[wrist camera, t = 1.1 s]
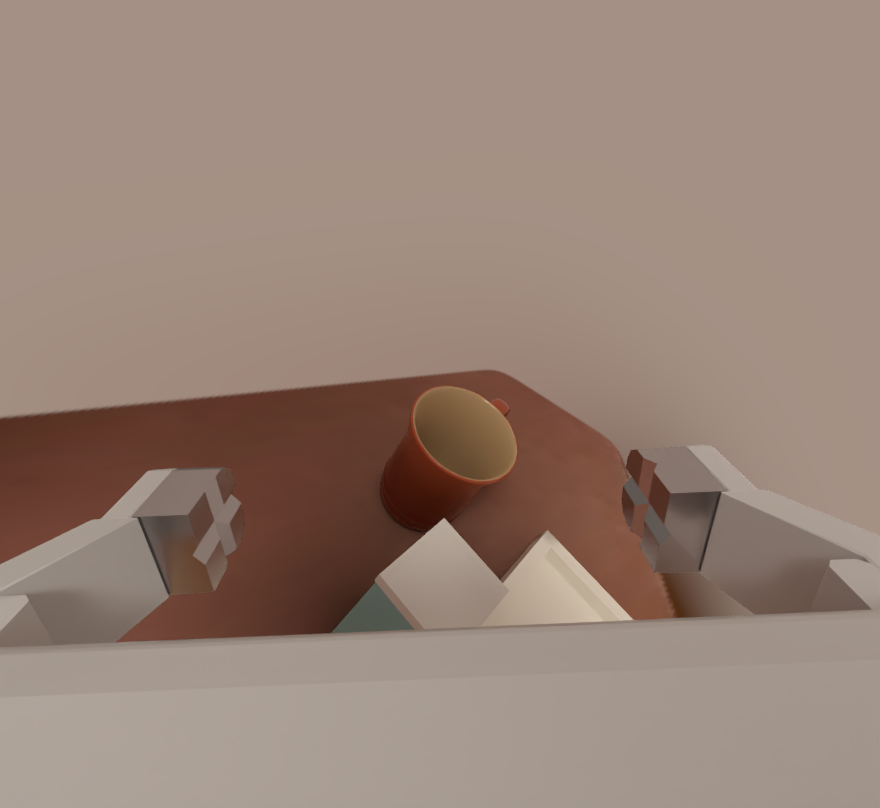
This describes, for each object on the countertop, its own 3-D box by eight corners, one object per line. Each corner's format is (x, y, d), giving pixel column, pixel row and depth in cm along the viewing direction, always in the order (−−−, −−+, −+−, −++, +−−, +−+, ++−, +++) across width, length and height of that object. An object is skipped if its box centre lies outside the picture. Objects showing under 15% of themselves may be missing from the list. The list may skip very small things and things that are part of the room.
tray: (421, 672, 33) (436, 663, 31) (532, 541, 44) (547, 529, 42) (570, 858, 30) (595, 859, 28) (649, 666, 41) (670, 659, 39)
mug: (418, 566, 38) (477, 506, 31) (346, 487, 39) (386, 413, 33) (494, 488, 46) (554, 427, 39) (432, 426, 48) (478, 357, 41)
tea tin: (320, 642, 31) (379, 574, 23) (376, 592, 35) (444, 517, 27) (370, 709, 30) (451, 662, 22) (423, 650, 34) (509, 590, 26)
